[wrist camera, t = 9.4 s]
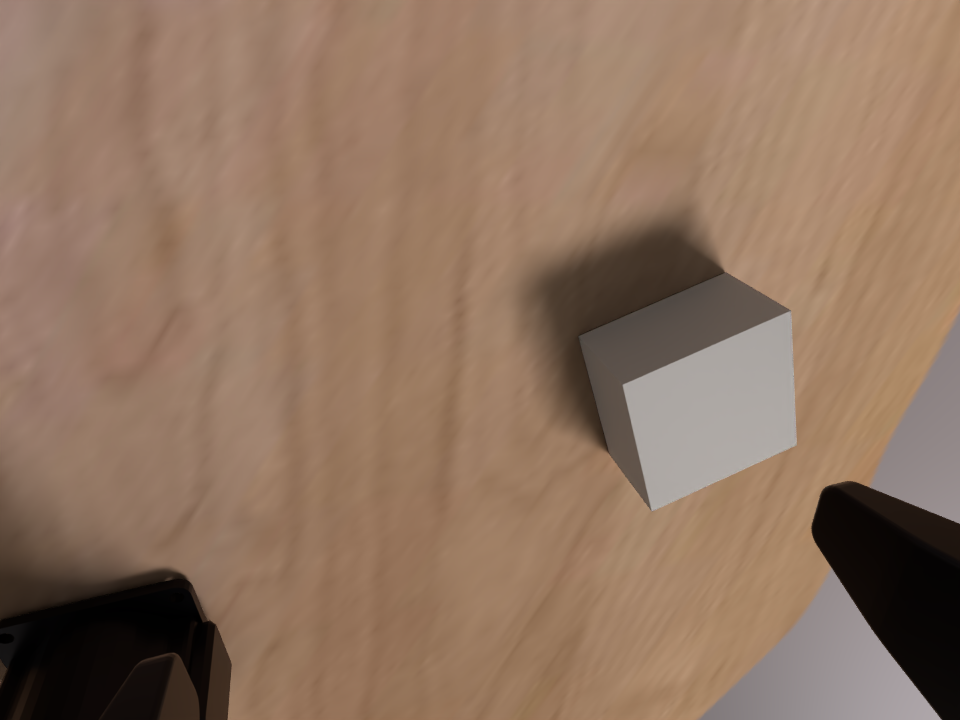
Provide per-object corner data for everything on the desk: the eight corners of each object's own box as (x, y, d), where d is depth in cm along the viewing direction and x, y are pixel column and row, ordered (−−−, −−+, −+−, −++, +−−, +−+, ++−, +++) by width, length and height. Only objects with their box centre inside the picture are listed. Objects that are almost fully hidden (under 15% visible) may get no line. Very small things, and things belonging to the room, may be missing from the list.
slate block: (609, 454, 26) (651, 511, 23) (578, 336, 23) (622, 384, 20) (738, 396, 26) (796, 445, 23) (725, 272, 23) (791, 310, 20)
